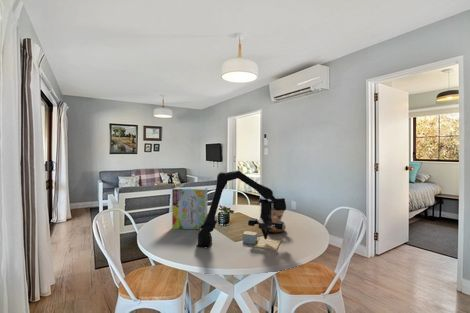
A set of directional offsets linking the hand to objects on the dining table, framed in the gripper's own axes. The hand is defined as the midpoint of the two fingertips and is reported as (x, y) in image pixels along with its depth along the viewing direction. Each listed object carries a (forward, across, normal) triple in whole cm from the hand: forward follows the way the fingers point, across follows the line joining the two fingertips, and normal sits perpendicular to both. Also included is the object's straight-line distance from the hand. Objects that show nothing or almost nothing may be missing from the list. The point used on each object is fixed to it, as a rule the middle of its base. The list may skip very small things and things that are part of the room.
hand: (265, 239), depth 132 cm
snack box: (+3, -52, +9) cm, 53 cm away
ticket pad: (+2, +1, 0) cm, 3 cm away
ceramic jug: (+3, 0, +24) cm, 24 cm away
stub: (+2, -9, 0) cm, 9 cm away
